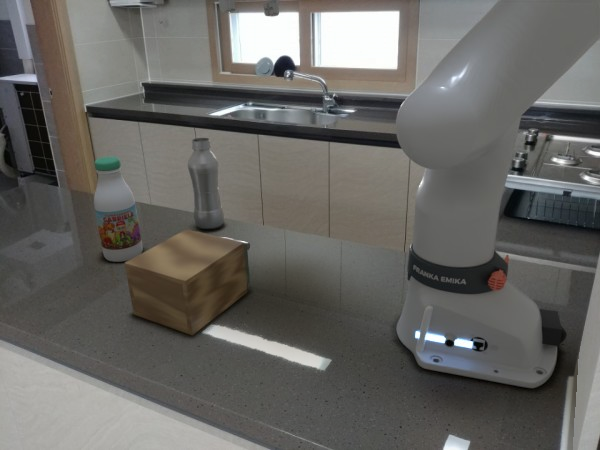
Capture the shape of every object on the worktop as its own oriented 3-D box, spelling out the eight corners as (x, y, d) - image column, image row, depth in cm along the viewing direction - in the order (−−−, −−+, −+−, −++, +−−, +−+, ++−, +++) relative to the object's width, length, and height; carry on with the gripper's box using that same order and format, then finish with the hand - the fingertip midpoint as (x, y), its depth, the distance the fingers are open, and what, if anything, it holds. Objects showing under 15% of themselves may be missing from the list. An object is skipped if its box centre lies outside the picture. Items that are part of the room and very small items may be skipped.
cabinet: (192, 276, 100) (186, 229, 96) (247, 292, 94) (243, 242, 90) (133, 314, 88) (124, 262, 84) (192, 335, 82) (185, 280, 78)
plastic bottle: (219, 233, 117) (210, 144, 109) (190, 231, 119) (179, 143, 111) (228, 221, 123) (221, 136, 115) (201, 220, 124) (191, 135, 116)
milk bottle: (97, 254, 109) (78, 159, 102) (133, 242, 114) (117, 151, 106) (113, 266, 104) (95, 168, 96) (150, 254, 109) (135, 159, 101)
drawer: (215, 259, 104) (211, 222, 101) (264, 271, 99) (261, 233, 96) (147, 302, 90) (141, 261, 87) (200, 320, 84) (195, 277, 81)
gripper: (199, -116, 66) (213, 4, 69) (301, -83, 81) (309, 14, 84) (166, -101, 69) (181, 13, 73) (270, -72, 85) (278, 21, 88)
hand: (251, 14), depth 78 cm, fingers open, 8 cm apart
